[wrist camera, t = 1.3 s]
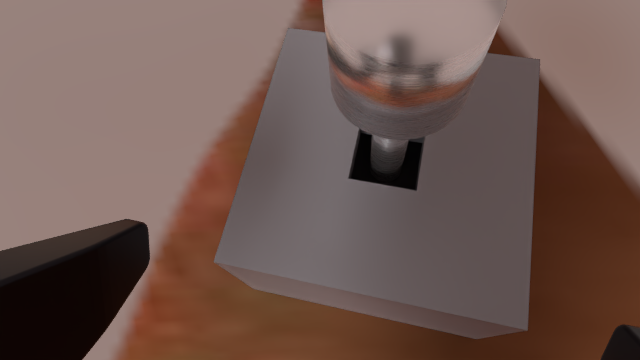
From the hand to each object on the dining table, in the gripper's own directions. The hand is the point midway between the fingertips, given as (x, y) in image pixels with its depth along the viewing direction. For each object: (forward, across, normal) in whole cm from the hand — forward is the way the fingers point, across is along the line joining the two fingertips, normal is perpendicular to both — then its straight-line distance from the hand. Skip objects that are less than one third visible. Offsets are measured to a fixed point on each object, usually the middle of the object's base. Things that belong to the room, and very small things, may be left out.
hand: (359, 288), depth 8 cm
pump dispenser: (+12, 0, +4) cm, 13 cm away
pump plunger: (+9, 0, +1) cm, 9 cm away
